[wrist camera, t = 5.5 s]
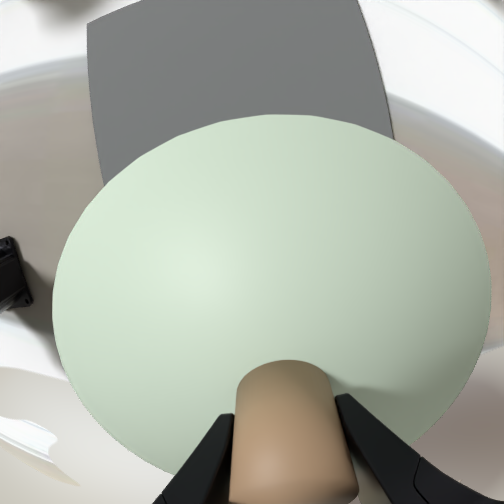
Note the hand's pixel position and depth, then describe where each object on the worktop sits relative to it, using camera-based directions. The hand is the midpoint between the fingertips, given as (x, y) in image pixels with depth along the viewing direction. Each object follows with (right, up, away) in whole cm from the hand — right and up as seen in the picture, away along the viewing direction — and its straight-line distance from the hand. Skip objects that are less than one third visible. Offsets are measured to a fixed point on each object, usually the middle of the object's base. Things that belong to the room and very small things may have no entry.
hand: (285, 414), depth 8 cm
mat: (-2, +14, +8) cm, 17 cm away
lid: (0, +1, +1) cm, 2 cm away
